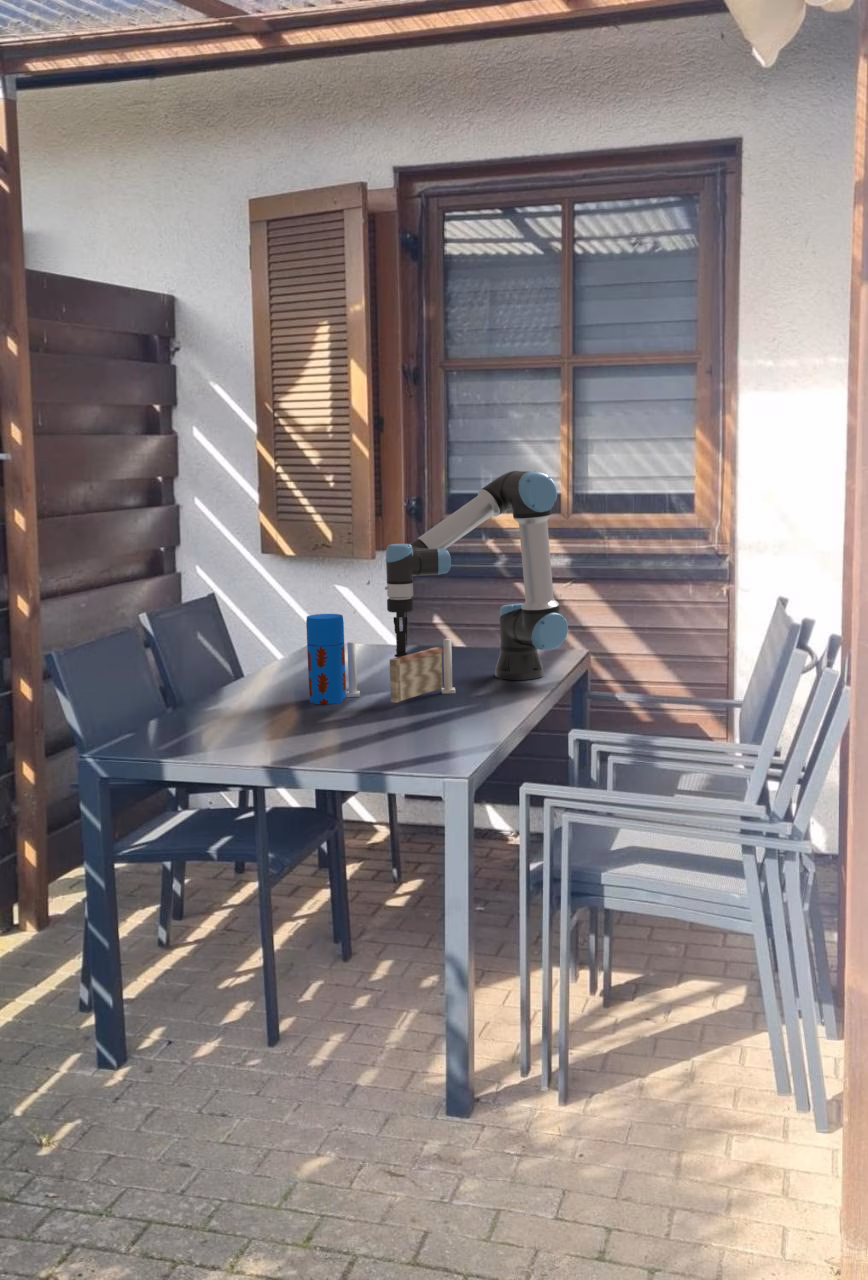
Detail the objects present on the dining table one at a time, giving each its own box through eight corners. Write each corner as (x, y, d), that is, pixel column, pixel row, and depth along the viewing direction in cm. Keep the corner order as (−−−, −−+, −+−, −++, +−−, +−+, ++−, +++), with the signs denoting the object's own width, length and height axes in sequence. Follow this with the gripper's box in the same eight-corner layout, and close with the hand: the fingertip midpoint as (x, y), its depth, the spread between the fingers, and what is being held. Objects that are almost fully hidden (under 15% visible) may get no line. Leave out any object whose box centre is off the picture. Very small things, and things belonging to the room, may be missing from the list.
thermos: (340, 704, 399) (337, 618, 395) (305, 704, 401) (301, 618, 397) (350, 697, 409) (347, 613, 405) (315, 696, 411) (312, 613, 407)
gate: (438, 687, 413) (437, 646, 411) (443, 688, 412) (442, 647, 410) (390, 701, 393) (389, 659, 391) (396, 702, 392) (395, 659, 390)
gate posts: (454, 690, 415) (453, 638, 412) (455, 693, 411) (454, 640, 408) (346, 694, 413) (344, 641, 411) (346, 697, 409) (344, 643, 407)
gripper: (386, 595, 404) (388, 674, 408) (387, 601, 391) (389, 682, 395) (412, 594, 404) (413, 673, 408) (413, 600, 391) (415, 682, 395)
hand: (401, 678), depth 401 cm, fingers closed
